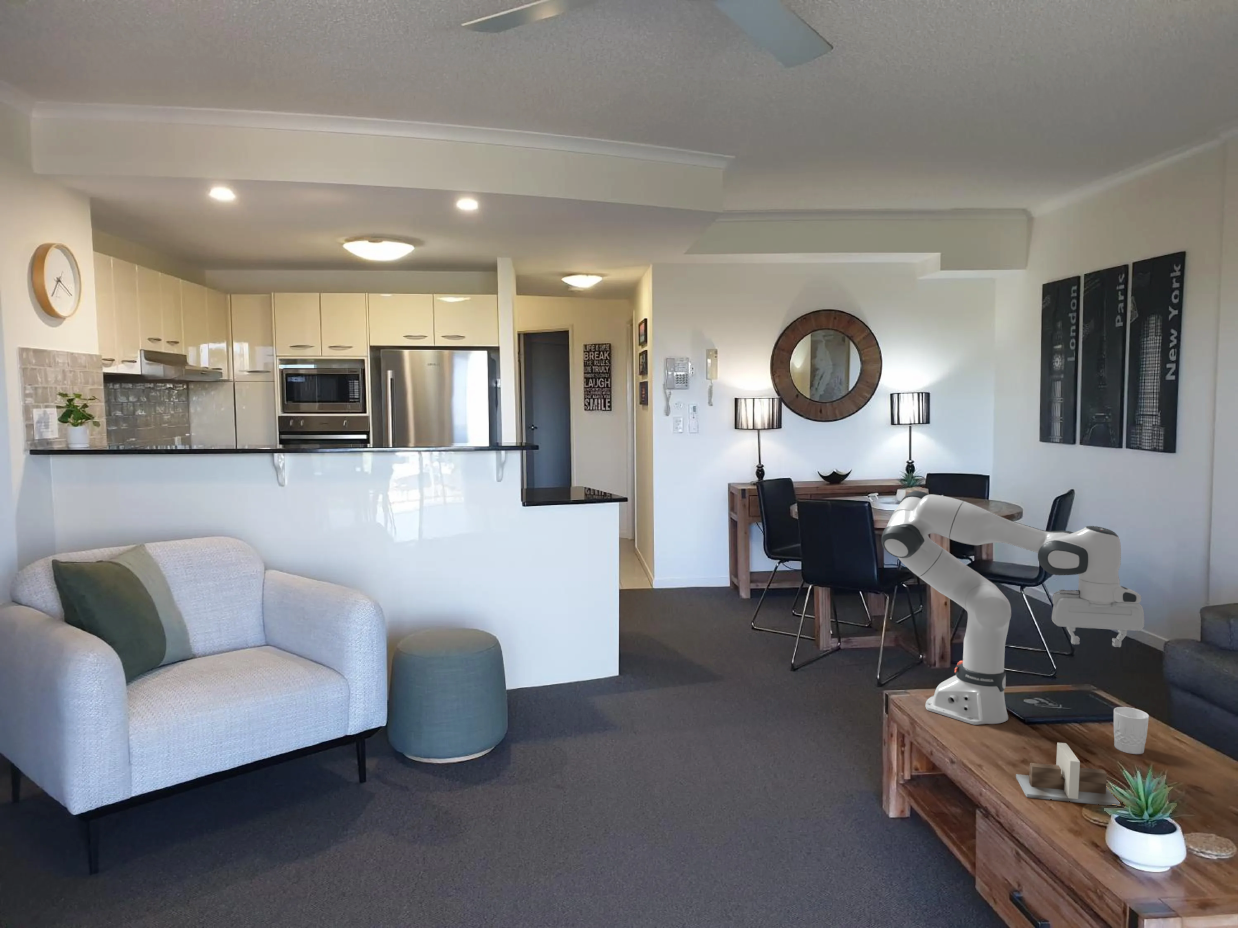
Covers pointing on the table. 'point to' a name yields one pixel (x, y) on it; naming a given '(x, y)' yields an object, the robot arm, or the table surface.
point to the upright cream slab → (1068, 769)
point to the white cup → (1130, 729)
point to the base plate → (1051, 785)
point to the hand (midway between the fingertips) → (1095, 644)
